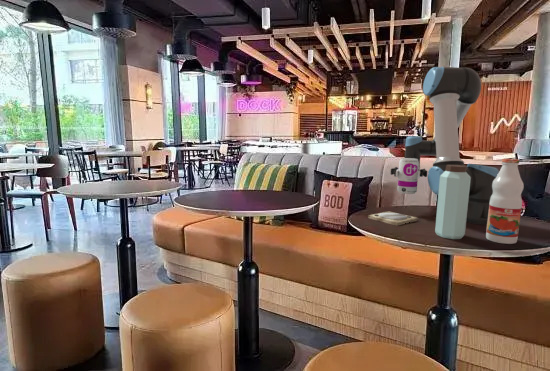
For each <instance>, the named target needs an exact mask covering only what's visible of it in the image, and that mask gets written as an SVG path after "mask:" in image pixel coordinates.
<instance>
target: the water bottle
mask: <svg viewBox="0 0 550 371" xmlns="http://www.w3.org/2000/svg"><path fill="white" fill-rule="evenodd" d="M466 167H467V165H464V166H462V165H446V169H445V172H444V173H443V174H442V175H440V182H439V193H438V195H437V205H436V206H437V207H436V215H435V216H436V217H435V226H434V227H435V229H434V232H435V234H436V235H437V236H438V237H441V238H444V239H450V240H461V239H462V238H463V237H464V236H465V234H466V227H467V222H466V218H467V209H468V199H469V189H470V180H471V177H470V176H469V175H468V174H467V172H466Z"/></svg>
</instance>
